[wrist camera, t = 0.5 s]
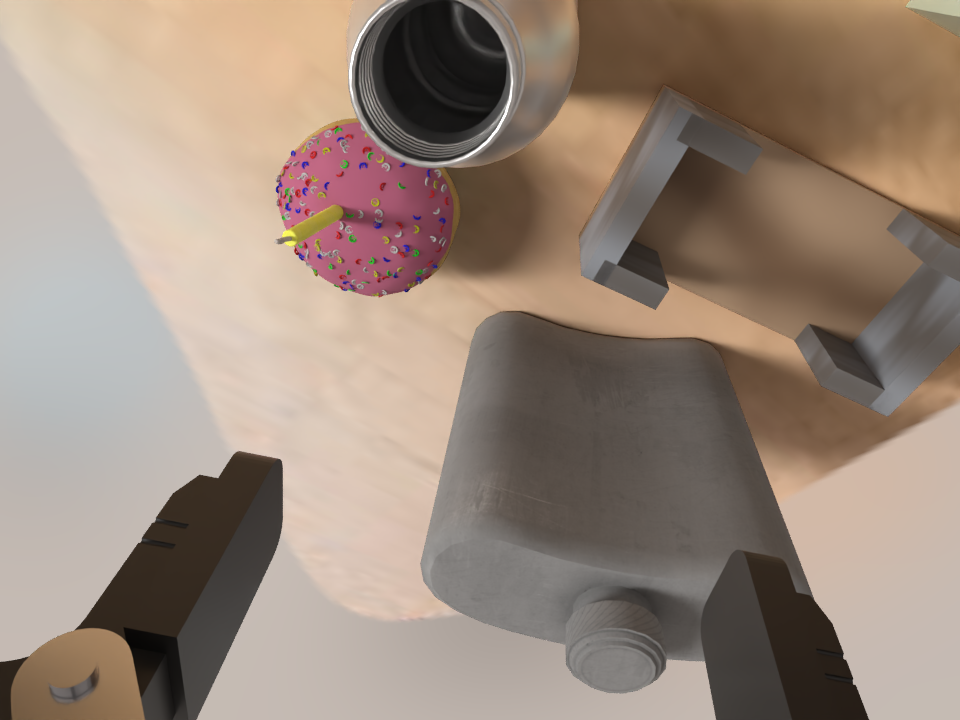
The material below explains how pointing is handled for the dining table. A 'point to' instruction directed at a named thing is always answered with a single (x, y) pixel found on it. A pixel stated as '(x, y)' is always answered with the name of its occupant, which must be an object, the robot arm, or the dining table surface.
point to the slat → (939, 12)
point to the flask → (597, 495)
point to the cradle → (778, 250)
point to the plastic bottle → (459, 75)
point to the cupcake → (365, 212)
